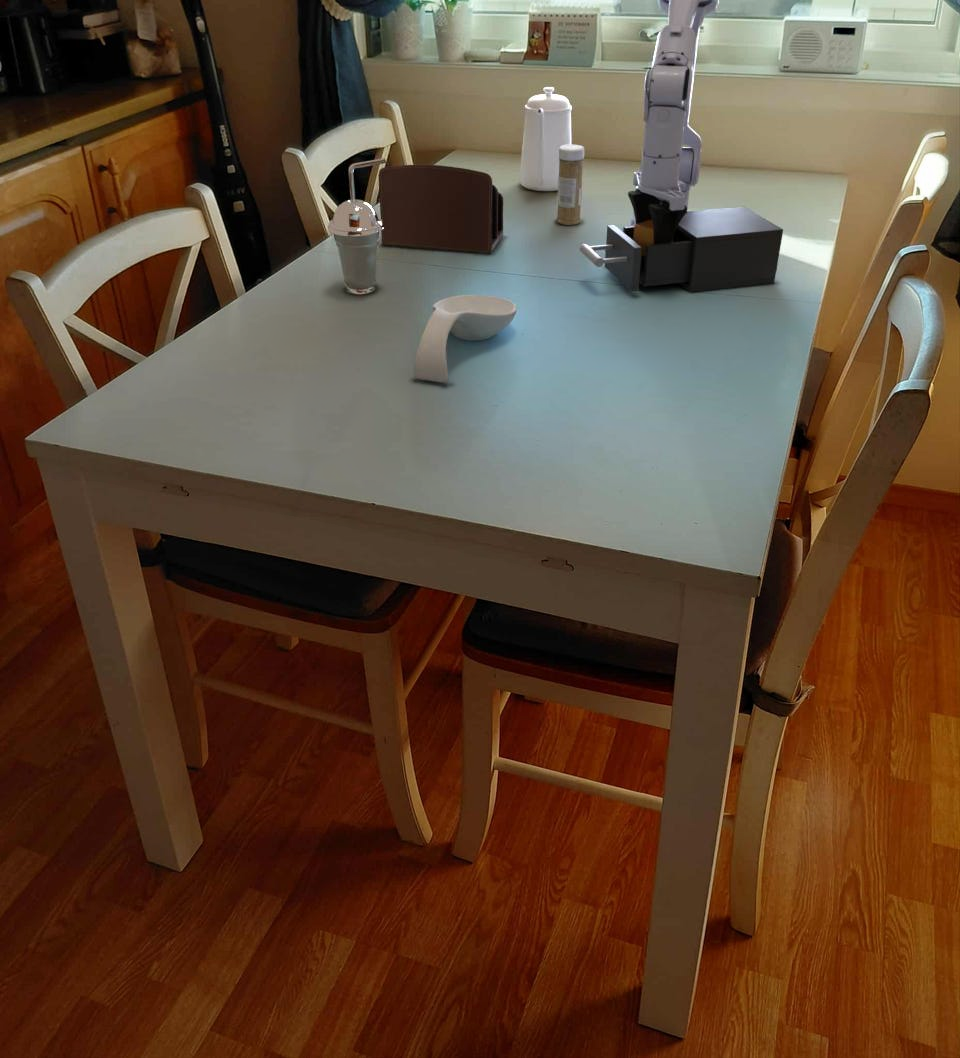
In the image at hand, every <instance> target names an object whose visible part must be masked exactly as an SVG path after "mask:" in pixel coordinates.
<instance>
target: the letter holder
mask: <svg viewBox="0 0 960 1058" xmlns="http://www.w3.org/2000/svg"><path fill="white" fill-rule="evenodd" d="M378 193H379V195H378V196H379V213H380V215H379V216H380V217H379V218H380V219H381V220H382V221H383V225H384V228H383V230H382V231H380V235H381V237H380V238H381V245H382V246H383V247H398V248H399V247H400V248H411V249H413V248H414V249H423V250H424V249H425V250H437V251H447V252H459V253H460V252H461V253H472V254H482V255H483V254H485V255H491V254H492V253H493V251H494V250H495V248H497V247H496V246H498V244H499V242H500V241H501V239H502V238H503V236H504V196H503V194H502V193H500V192H499V191H498V188H497V187H496V186H495V185H494V184H493V178H492V176H491V175H490V173H487V172H484V171H479V170H475V169H469V168H465V167H456V166H450V165H449V166H448V165H441V164H439V165H438V164H403V165H401V164H400V165H391V166H385V167H382V168H380V169H379V171H378Z"/></svg>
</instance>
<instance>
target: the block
mask: <svg viewBox="0 0 960 1058" xmlns="http://www.w3.org/2000/svg"><path fill="white" fill-rule="evenodd" d="M633 241H635V242H636V243H637V244H638V245H640V246H641V247H642V254H641V255H642V256H645V255H646V245H651V244H654V243H653V222H652V219H651V220H648V221H645V222H642V223H639V224H636V225H635V226H634V238H633ZM671 242H673V239H672V241H671Z"/></svg>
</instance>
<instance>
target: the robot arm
mask: <svg viewBox="0 0 960 1058" xmlns="http://www.w3.org/2000/svg"><path fill="white" fill-rule="evenodd" d="M657 5H658V6H659V10H660V11H662V12H663V13H666V14H667V15H668V17H667V25H665V26H664V27H662V28H661V29H660V31H659V32H658V34H657V39H656V43H655V48H654V54H653V59H652V64H651V68H647V70H646V73H645V77H644V78H645V79H644V85H643V86H644V87H643V110H644V111H643V122H644V131H643V142H642V153H641V161H640V171H634V172H633V181H632V185H633V186H635V189H634V190H629V191H628V192H627V196H628V198H629V201H630V203H631V206H632V209H633V212H632V218H631V220H630V221H631V222H630V226H635V225H636V224H639V223H642V222H645V221H648V220H651V219H652V222H653V243H654V244H661V243H671V241H672V239H673V236H674V233H675V231H676V228H677V226H678V224H679V222H680V221H681V219H682V218H683V216H684V215H685V214H686V212H688V208H689V198H690V190H691V187H695V186H696V185H697V184H698V183H699V177H700V172H701V164H702V156H703V155H702V154H703V151H702V149H703V148H702V147H703V140H702V136H701V135H699V134H698V133H697V132H696V131H695V130H693V129H692V128H691V126H690V125H689V120H690V113H691V103H692V96H693V88H694V78H695V72H696V71H695V69H696V62H697V55H698V54H697V53H698V45H699V36H700V30H701V28H702V25H703V22H704V20H705V18H706V16H708V15H711V14H713V13H716V12H717V9H718V6H719V5H720V0H657ZM683 145H686V146H683ZM687 146H688V147H687Z"/></svg>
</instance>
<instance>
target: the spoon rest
mask: <svg viewBox="0 0 960 1058" xmlns="http://www.w3.org/2000/svg"><path fill="white" fill-rule="evenodd" d="M432 310H433V312H432V314H431V315H430V317H429V319H428V321H427V323H426V325H425V328H424V330H423V333H422V336H421V337H420V341H419V343H418V347H417V351H416V355H415V360H414V365H413V378H415V379H417V380H423V381H429V382H434V383H435V382H437V383H448V381H449V376H448V374H449V373H448V362H447V342H448V338H449V334H450V333H451V334H453V336H454V337H456V338H458V339H460V340H464V341H472V342H473V341H474V342H476V341H484V340H487V339H490V338H492V337H494V336H495V335H496V334H498V333H500V332H502V331H504V329H506V328H507V327H508V326H509V325H510V323H511V322H512V321H513V320H514V318H515V316H516V314H517V312H518V307H517V305H516V304H515V303H514V302H513V301H511V300H509V299H507V298H502V297H498V296H492V295H483V294H464V295H462V294H461V295H454V296H451V297H446V298H443V299H440V300H438V301H436V302H435V303H434V304H433V305H432Z"/></svg>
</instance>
